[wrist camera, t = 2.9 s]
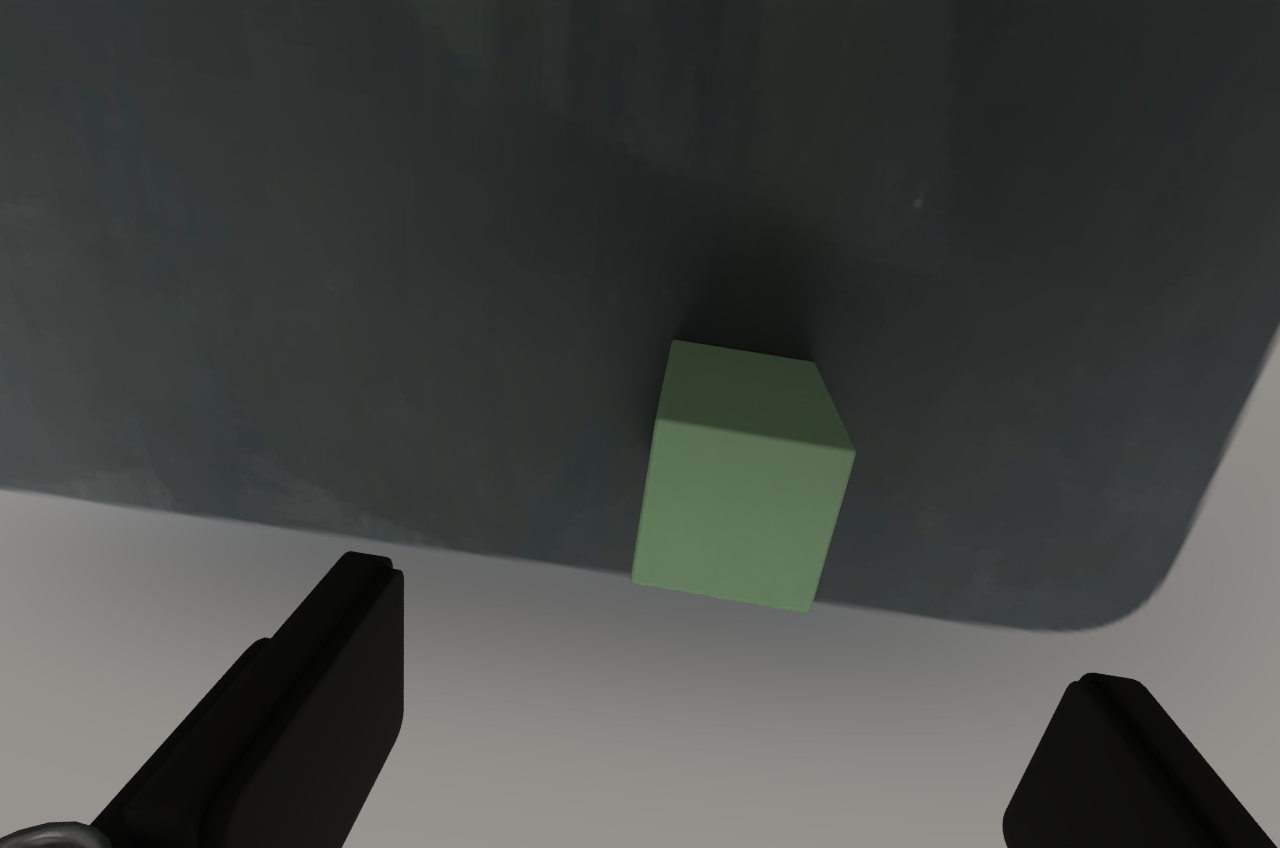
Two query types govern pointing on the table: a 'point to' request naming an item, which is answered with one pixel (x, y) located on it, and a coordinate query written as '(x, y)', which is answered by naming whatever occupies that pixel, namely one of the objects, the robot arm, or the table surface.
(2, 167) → the table surface
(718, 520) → the green block
